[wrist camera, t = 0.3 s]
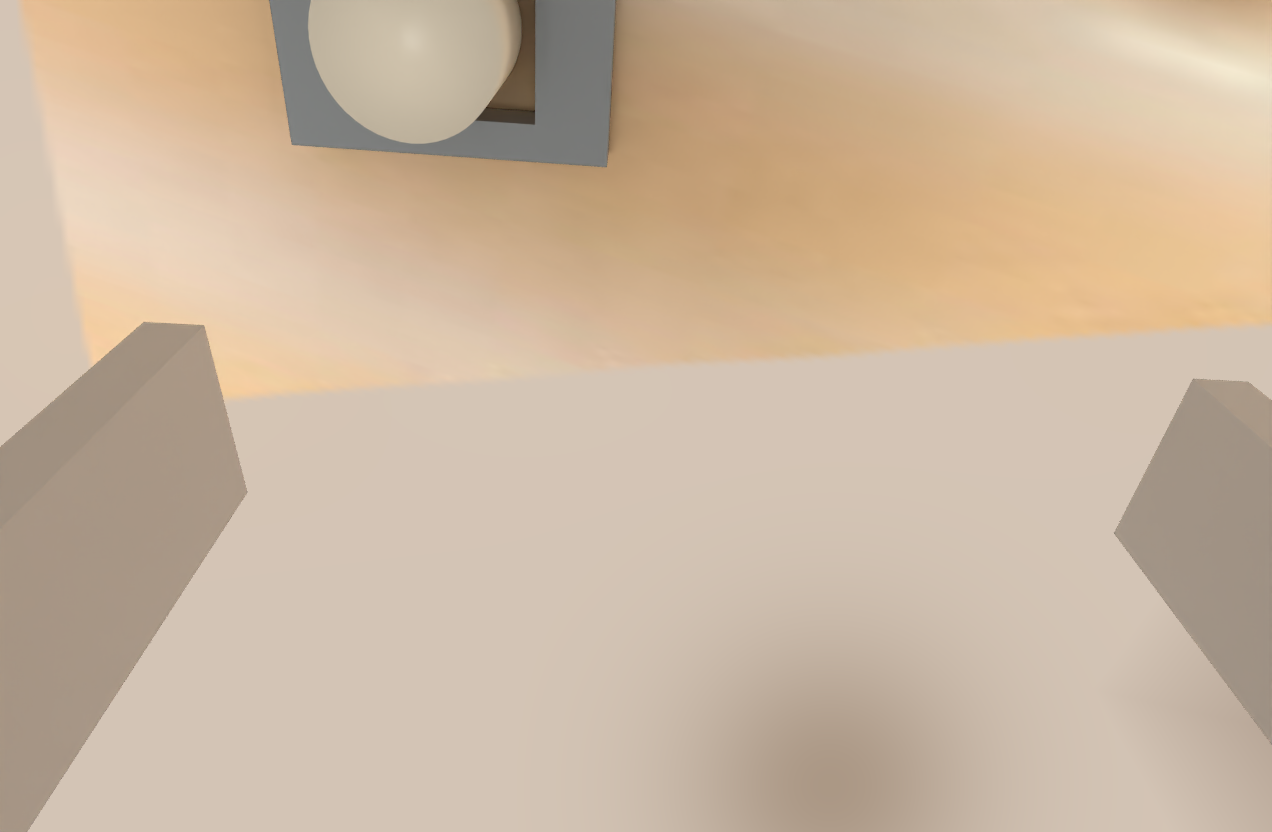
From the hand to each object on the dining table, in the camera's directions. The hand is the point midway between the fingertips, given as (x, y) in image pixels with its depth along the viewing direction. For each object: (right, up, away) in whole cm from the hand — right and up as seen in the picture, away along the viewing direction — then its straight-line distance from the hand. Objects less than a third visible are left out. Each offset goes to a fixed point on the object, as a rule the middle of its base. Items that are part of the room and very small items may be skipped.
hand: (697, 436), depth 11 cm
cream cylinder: (-8, +15, +19) cm, 26 cm away
